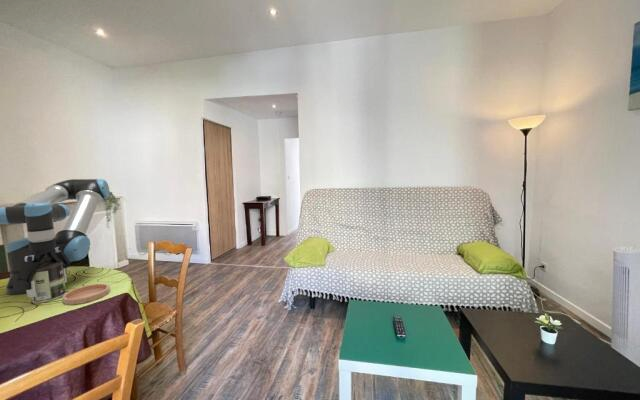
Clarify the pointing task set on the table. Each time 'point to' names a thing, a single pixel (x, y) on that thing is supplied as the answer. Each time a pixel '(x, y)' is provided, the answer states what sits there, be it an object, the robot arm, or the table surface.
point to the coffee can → (49, 282)
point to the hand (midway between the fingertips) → (48, 289)
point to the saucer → (85, 294)
